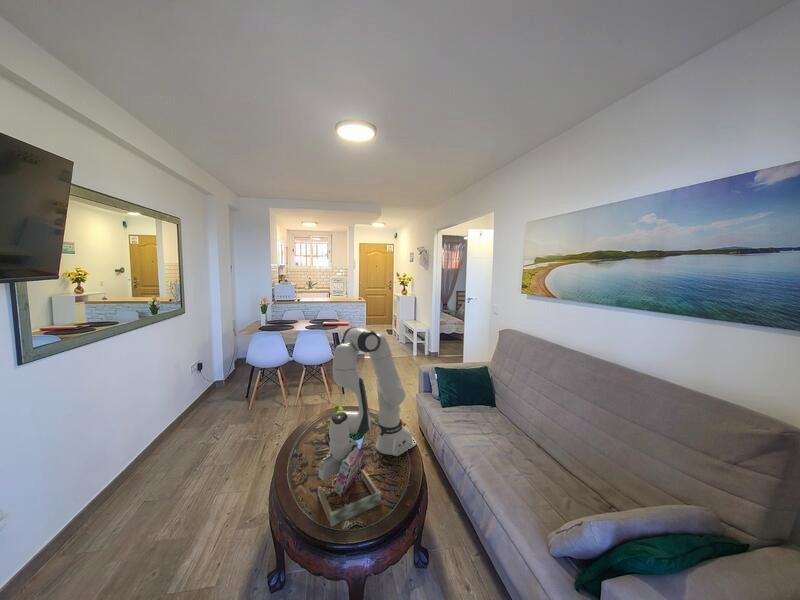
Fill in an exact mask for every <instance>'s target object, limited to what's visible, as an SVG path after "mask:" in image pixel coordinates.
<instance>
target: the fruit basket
mask: <svg viewBox="0 0 800 600" xmlns="http://www.w3.org/2000/svg"><path fill="white" fill-rule="evenodd" d="M333 409H334V413H336V412H337V411H347V409H346V410H345V409H344V408H343V407H342V406H341V405H339V404H336V405H334V408H333Z"/></svg>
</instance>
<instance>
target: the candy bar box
mask: <svg viewBox="0 0 800 600" xmlns="http://www.w3.org/2000/svg"><path fill="white" fill-rule="evenodd" d="M364 452H365V451H363V450H362V449H360V448H359V447H358V448H357V447H355V448H354V449H353V450H352V451H351V452H350V453H349V454H348V455H347V456H346V457H345V458H344V459H343V460H342V462H341V466H340V469H339V472H338V476H337V479H336V478H335V479H336V480H335V483H334V486H333V488H332V489H333V490H332V492H334V493H335V494H336V495H338V496H339V497H340V498H341V497H343V496H344V494H345V493H346V492H347V491H348V490H349V488H350V487H351V486H352V485H353V483H354V482H355V480H357V479H356V477H357V474H358V472H359V468H360V465H361V463H362V460H363V456H364Z"/></svg>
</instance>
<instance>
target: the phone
mask: <svg viewBox="0 0 800 600" xmlns="http://www.w3.org/2000/svg"><path fill="white" fill-rule="evenodd" d="M324 437H325V438H324V439H325V440H326V443H327V446H328V447H329V443H330V437H329V433H326V434H325V435H324Z"/></svg>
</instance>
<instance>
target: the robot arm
mask: <svg viewBox="0 0 800 600" xmlns="http://www.w3.org/2000/svg"><path fill="white" fill-rule="evenodd" d="M390 347H391V346H390V345H389V343H388V341H387V338H386V336H385V335H384V334H382V333H376V332H375V331H373V330H371V329H369V328H365V327H357V326H352V327H349V328H347V329H346V330H345V331H344V333H343V336H342V339H341V343H340V344H338V345H337V346H336V347H335V349H334V352H333V357H332V358H333V360H332V378H333V381H334V382H335V383H336V384H337V385H338V386H340V387H341V388H344V389H346V390H349V391H351V392H352V393H354V394H355V396H356V398H357V404H358V410H359V411H357V410H354V411H353V410H346V411H337V412H336V413H335V412H334V413H333V414H332V415H331V417H330V418H329V424H328V425H329V427H328V428H329V430H328V431H329V432H328V434H329V437H330V443H329V446H328V449H329V450H328V452H329V454H328V455H326V457H324V458H322V459H321V461H319V466H318V467H319V468H318V478H320V480H322V481H324V482H325V481H327V480H328V479H330V478H332V477H333V476H334V475H335V479H337V476H338V472H339V469H340V466H341V462H342V460H343V459H344V458H345V457H346V456H347V455H348V454H349V453H350V452H351V451H352V450H353V449H354V448H355V447H357V448H359V442H357V441H355V440H354V439H353V438H350V434H357V435H363V436H364V435H365V434H367V433H368V432H369V431H370V430H371V427H372V419H371V415H370V411H369V404H368V397H367V392H366V387H365V382H364V380H363V378H361V377H360V376H359V373H358V370H357V359H358V355H359V353H360V352H363V353H368V355H369V358H370V361H371V365H372V369H373V372H374V374H375V377H376V379H375V380H376V381H375V382H376V391H377V401H378V422H377V439H376V443H375V449H376V450H377V451H378V452H379V453H381V454H382V455H391V456H394V457H398V456H400V455H402V454H404V453H405V452H407V451H408V449H409V450H410V449H412V448H414V447H415V446H417V441H416V439H415V438H414V436H413V435H412V434H413V433H412V432H411V431H410V429H409V428H408V427H406V425H407V423H406V422H405V421H404V420H402V419H401V418H400V416H401V407H400V405H401V404H402V403H404V401H405V399H406V392H405V389H404V386H403V383H402V380H401V377H400V374H399V372H398V370H397V368H396V364H395V361H394V358H393V354H392V350H391V348H390ZM413 440H414V441H413ZM414 442H415V443H414Z"/></svg>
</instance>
